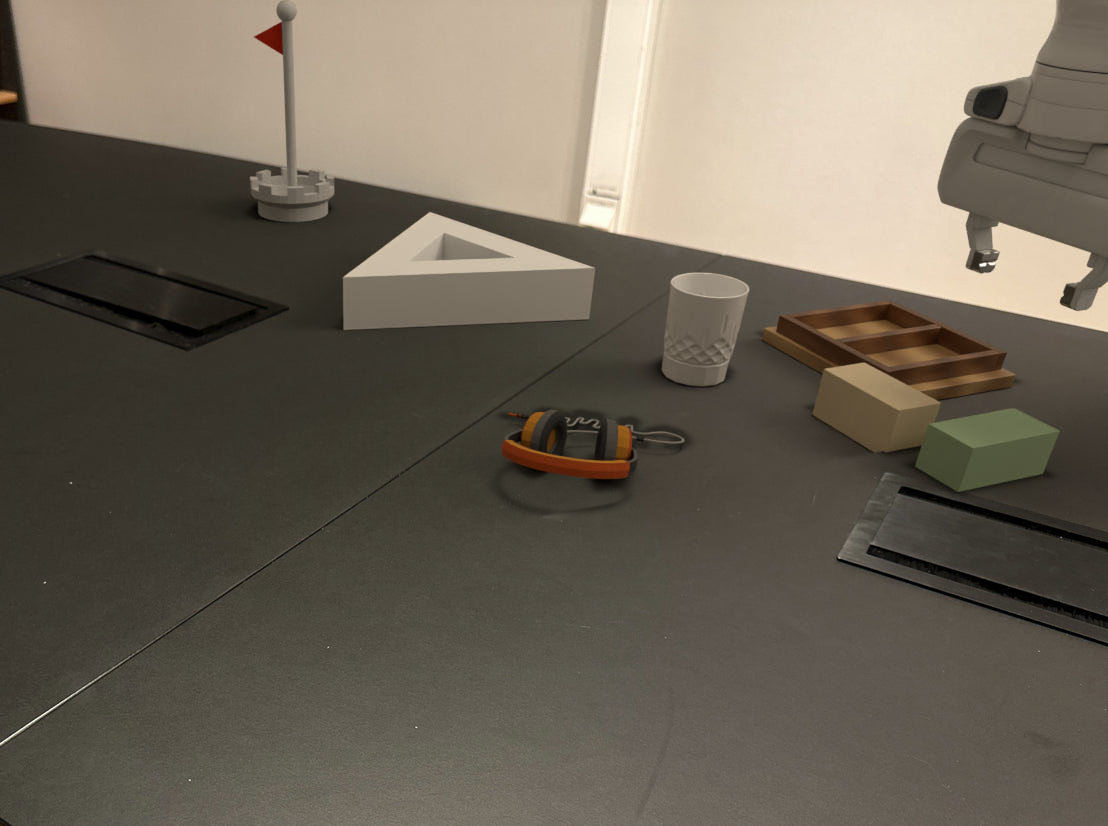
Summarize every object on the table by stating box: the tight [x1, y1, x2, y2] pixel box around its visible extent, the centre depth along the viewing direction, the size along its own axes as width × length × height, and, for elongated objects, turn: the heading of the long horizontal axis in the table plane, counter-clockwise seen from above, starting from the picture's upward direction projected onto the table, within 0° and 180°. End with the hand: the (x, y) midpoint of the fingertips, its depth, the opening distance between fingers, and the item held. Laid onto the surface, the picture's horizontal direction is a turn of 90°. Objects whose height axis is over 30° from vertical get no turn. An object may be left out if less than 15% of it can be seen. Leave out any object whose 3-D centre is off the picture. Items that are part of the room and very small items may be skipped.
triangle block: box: [342, 211, 596, 331], centre depth 129 cm, size 30×26×6 cm
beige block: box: [812, 363, 942, 454], centre depth 101 cm, size 10×5×5 cm, turn 21°
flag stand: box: [249, 0, 335, 223], centre depth 157 cm, size 13×13×30 cm
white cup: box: [661, 272, 750, 387], centre depth 111 cm, size 8×8×10 cm
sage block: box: [914, 407, 1061, 493], centre depth 94 cm, size 10×5×5 cm, turn 111°
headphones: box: [501, 409, 685, 481], centre depth 95 cm, size 17×5×20 cm
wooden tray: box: [761, 299, 1017, 401], centre depth 116 cm, size 17×20×4 cm
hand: (1024, 288), depth 86 cm, fingers open, 8 cm apart
